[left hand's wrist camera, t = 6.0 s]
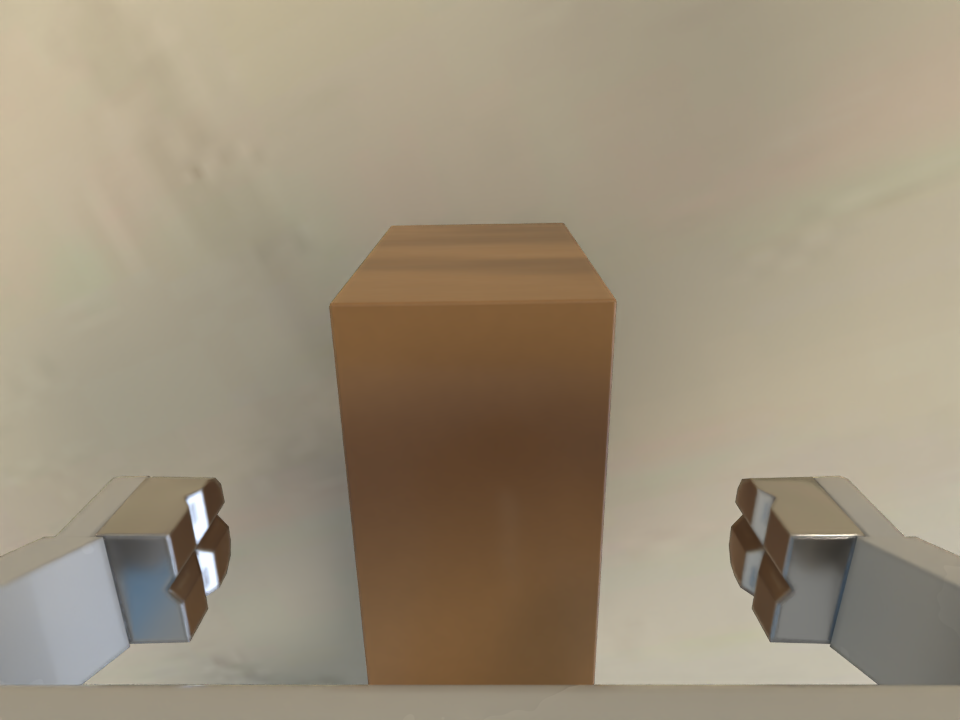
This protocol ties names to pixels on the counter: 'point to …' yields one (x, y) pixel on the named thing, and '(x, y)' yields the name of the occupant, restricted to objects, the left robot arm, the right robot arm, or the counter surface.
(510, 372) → the bar
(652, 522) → the counter surface
